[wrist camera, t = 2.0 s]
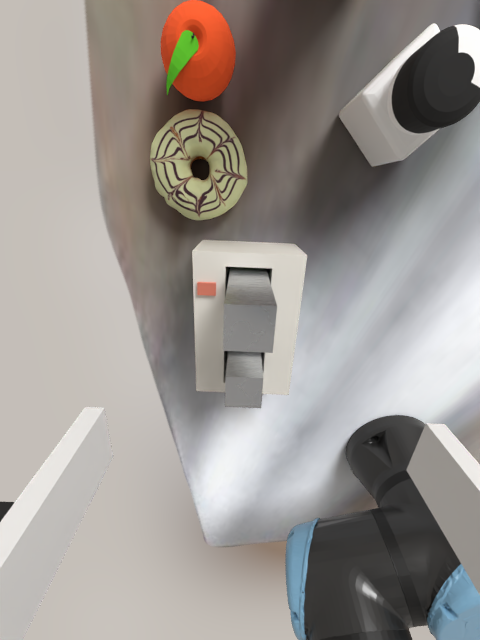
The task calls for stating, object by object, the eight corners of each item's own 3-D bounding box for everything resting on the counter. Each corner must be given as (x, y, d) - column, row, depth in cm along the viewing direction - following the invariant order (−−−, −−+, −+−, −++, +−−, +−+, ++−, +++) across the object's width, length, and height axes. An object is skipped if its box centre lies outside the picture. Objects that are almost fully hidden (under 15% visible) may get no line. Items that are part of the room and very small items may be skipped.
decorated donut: (197, 235, 37) (192, 239, 33) (139, 159, 33) (126, 155, 30) (263, 181, 34) (265, 180, 31) (207, 93, 31) (202, 81, 27)
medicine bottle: (371, 168, 33) (433, 155, 22) (336, 114, 31) (386, 71, 20) (427, 119, 31) (526, 78, 20) (393, 58, 29) (483, -25, 18)
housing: (294, 243, 37) (308, 256, 29) (281, 361, 44) (289, 396, 36) (202, 239, 37) (191, 251, 29) (204, 358, 44) (195, 393, 36)
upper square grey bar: (261, 287, 39) (272, 352, 23) (231, 286, 39) (223, 350, 23) (263, 258, 37) (277, 306, 21) (232, 257, 37) (223, 304, 21)
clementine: (202, 133, 32) (191, 118, 26) (151, 82, 30) (126, 51, 24) (250, 67, 30) (251, 31, 23) (198, 6, 28) (184, -51, 21)
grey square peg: (256, 349, 43) (260, 408, 31) (230, 348, 43) (224, 406, 31) (258, 325, 42) (263, 378, 30) (230, 324, 42) (225, 376, 30)
